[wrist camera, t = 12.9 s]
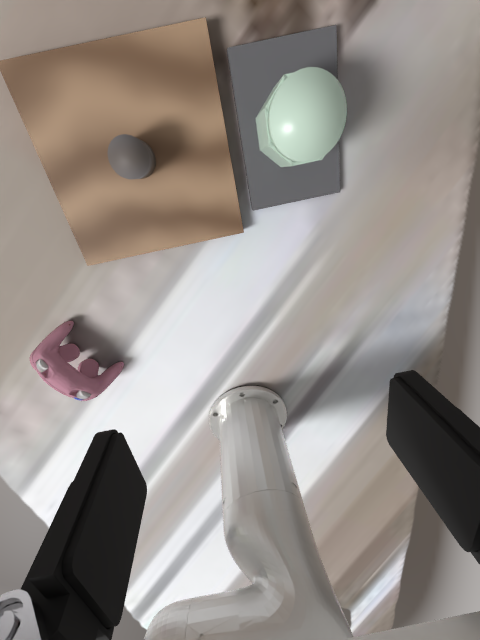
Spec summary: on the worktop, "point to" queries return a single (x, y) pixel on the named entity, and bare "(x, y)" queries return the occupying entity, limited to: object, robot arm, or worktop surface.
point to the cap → (302, 117)
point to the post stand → (131, 139)
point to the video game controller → (70, 367)
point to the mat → (250, 95)
